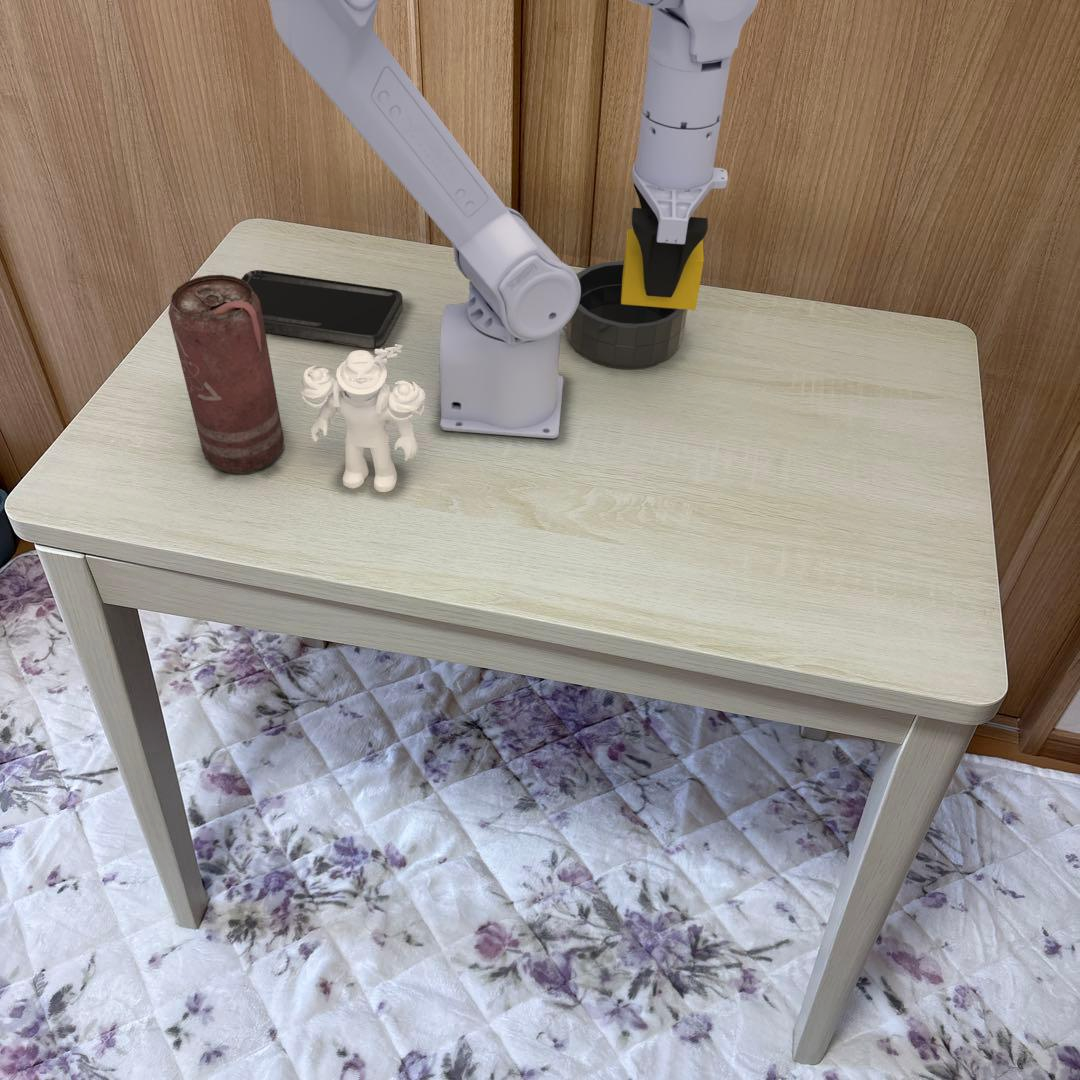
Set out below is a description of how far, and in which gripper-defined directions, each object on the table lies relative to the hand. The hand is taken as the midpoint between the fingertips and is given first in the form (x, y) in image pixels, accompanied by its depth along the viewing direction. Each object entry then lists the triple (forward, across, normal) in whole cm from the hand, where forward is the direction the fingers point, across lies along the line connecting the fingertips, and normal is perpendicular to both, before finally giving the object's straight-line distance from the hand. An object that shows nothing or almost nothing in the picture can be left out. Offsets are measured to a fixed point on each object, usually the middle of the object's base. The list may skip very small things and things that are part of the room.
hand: (659, 279), depth 85 cm
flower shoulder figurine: (+9, -17, +21) cm, 28 cm away
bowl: (+9, +5, +2) cm, 10 cm away
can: (+9, -15, +31) cm, 36 cm away
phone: (+9, +4, +30) cm, 32 cm away
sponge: (+1, 0, 0) cm, 1 cm away
